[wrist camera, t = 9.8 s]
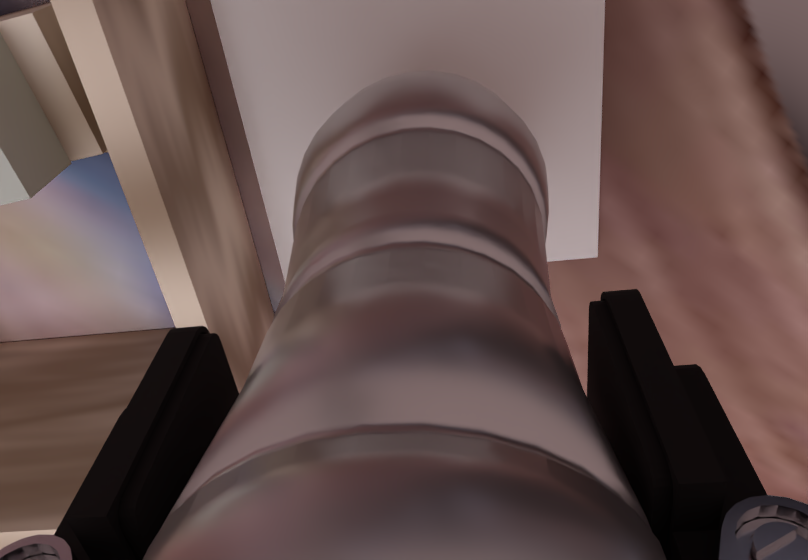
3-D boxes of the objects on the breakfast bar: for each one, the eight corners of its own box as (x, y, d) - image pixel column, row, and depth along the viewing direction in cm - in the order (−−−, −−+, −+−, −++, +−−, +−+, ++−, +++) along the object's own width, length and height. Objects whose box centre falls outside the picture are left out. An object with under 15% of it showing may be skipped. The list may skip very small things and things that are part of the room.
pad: (202, -54, 21) (196, -51, 20) (603, -111, 19) (608, -109, 19) (288, 276, 27) (285, 285, 26) (594, 249, 26) (597, 257, 25)
